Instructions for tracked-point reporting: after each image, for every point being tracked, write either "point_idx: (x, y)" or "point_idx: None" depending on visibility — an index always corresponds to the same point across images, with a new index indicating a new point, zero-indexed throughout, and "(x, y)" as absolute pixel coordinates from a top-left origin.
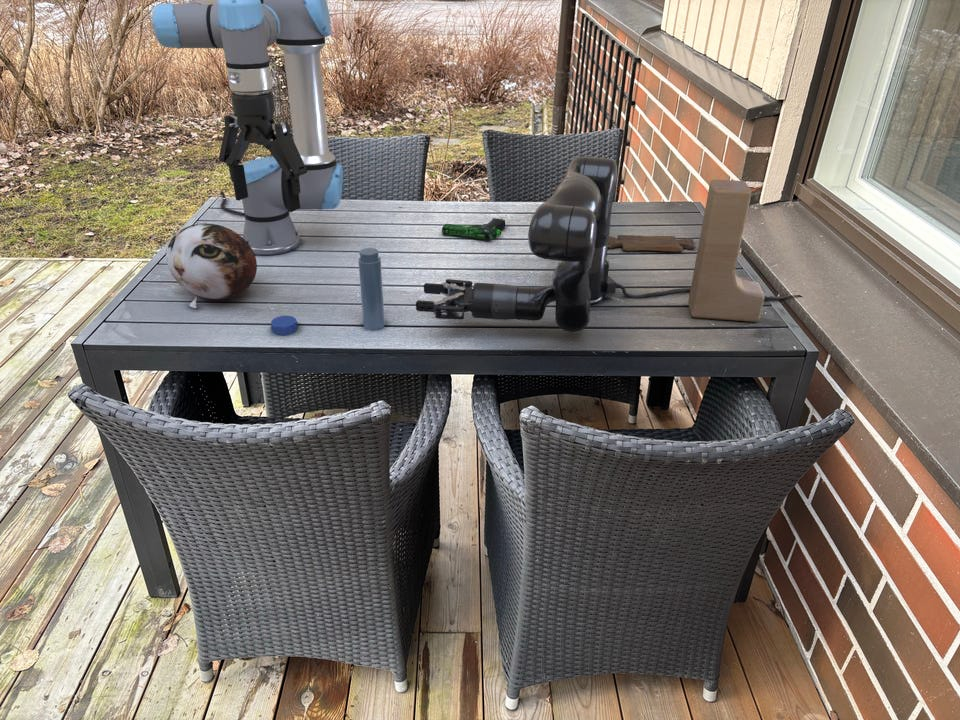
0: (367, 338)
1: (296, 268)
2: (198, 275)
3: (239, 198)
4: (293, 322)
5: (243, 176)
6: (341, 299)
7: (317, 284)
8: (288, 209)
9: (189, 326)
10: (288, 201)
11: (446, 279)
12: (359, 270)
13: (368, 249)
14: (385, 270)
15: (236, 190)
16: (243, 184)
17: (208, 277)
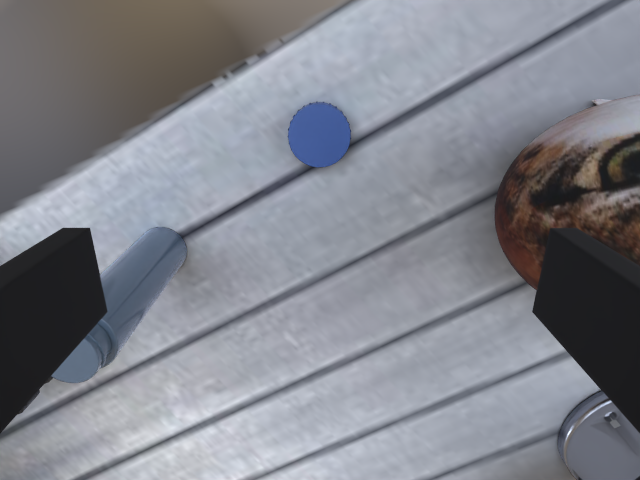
0: (132, 195)
1: (496, 373)
2: (621, 101)
3: (555, 243)
4: (293, 143)
5: (634, 403)
6: (307, 307)
7: (402, 337)
8: (74, 234)
9: (549, 17)
10: (23, 257)
11: (23, 410)
12: (113, 300)
13: (80, 367)
14: (316, 443)
15: (599, 257)
16: (592, 344)
17: (586, 115)
